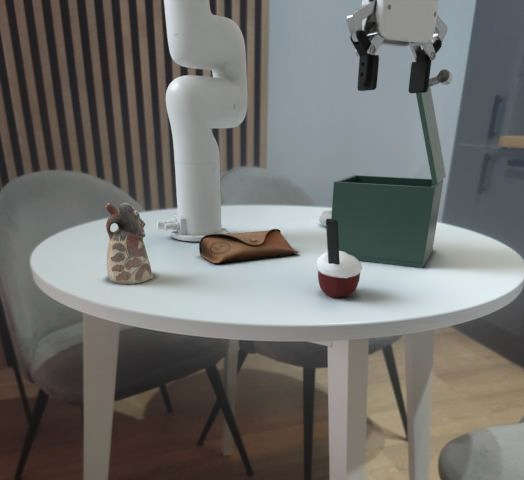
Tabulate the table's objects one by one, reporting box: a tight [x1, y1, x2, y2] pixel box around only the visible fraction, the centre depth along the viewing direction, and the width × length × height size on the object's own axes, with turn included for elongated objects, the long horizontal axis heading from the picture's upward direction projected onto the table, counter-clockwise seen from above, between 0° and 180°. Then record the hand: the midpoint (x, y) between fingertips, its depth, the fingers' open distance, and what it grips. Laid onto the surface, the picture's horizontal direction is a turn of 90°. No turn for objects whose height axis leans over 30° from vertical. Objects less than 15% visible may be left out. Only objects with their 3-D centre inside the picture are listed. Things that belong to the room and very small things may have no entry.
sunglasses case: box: [198, 228, 298, 264], centre depth 96 cm, size 18×7×7 cm
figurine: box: [104, 202, 154, 285], centre depth 79 cm, size 7×7×12 cm
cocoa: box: [315, 219, 363, 299], centre depth 72 cm, size 10×6×12 cm, turn 131°
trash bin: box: [331, 174, 444, 269], centre depth 96 cm, size 18×15×14 cm
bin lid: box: [415, 68, 453, 185], centre depth 86 cm, size 18×15×5 cm
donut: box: [318, 209, 332, 228], centre depth 124 cm, size 10×4×10 cm
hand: (392, 91), depth 70 cm, fingers open, 9 cm apart
